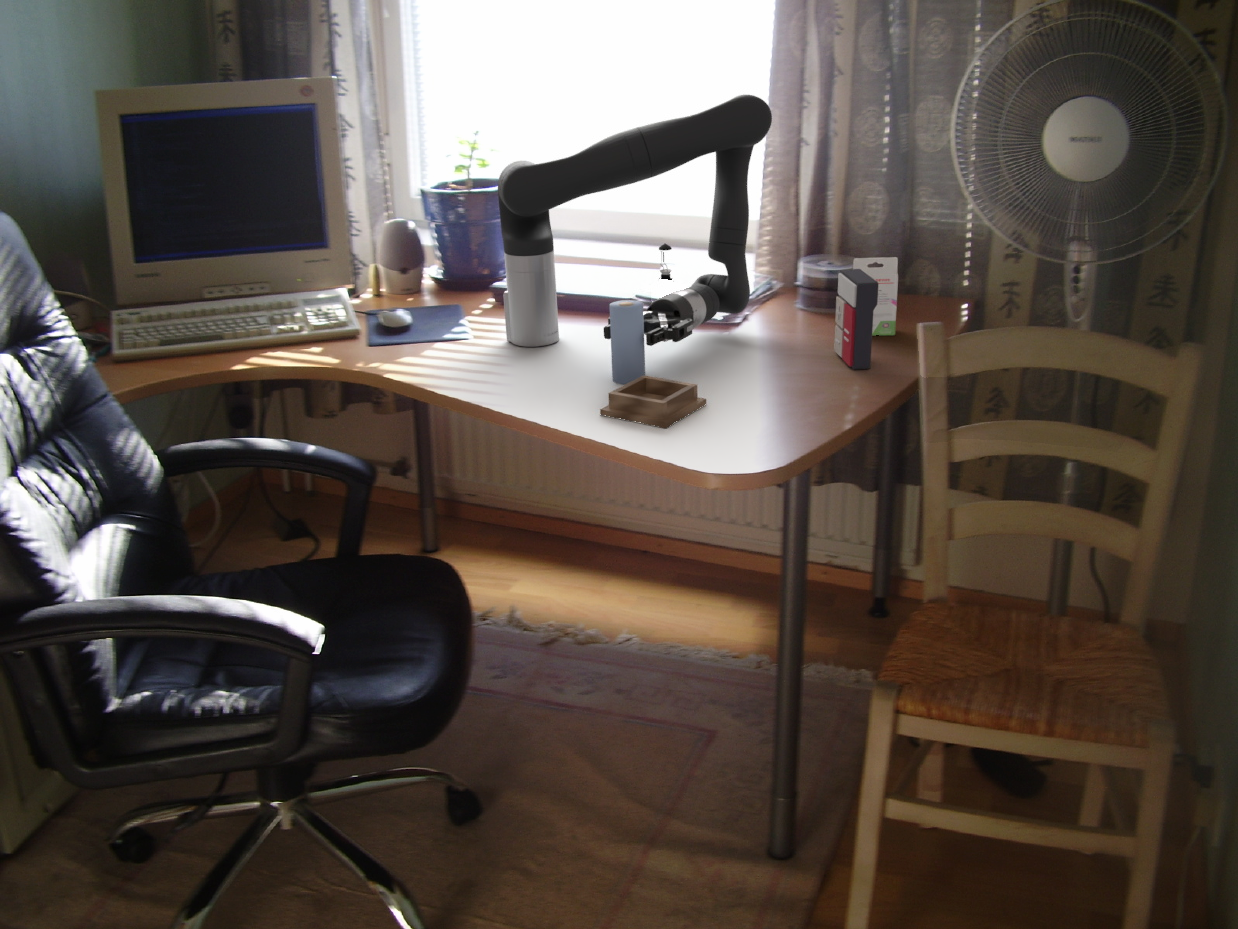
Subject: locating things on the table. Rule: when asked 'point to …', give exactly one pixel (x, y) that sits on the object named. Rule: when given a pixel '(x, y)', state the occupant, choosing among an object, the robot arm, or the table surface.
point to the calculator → (855, 317)
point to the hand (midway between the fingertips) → (626, 336)
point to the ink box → (882, 292)
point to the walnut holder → (653, 401)
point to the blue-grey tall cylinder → (627, 340)
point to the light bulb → (665, 272)
